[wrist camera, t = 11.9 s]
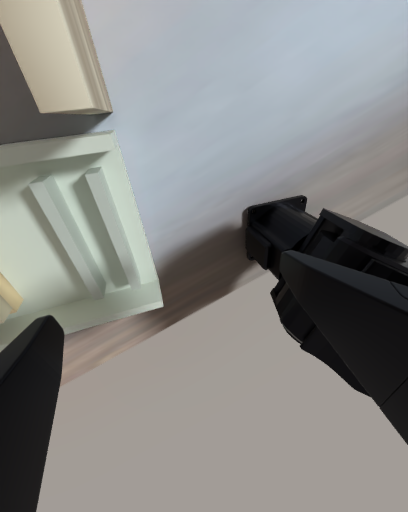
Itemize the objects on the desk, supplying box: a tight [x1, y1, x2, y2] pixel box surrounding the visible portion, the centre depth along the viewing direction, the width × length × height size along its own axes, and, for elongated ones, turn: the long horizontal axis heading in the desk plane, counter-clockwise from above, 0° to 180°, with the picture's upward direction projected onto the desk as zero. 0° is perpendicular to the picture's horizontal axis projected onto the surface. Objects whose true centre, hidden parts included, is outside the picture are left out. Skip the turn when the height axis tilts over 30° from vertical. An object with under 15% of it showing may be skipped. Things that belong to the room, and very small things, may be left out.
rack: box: [0, 130, 164, 352], centre depth 16 cm, size 18×14×4 cm
